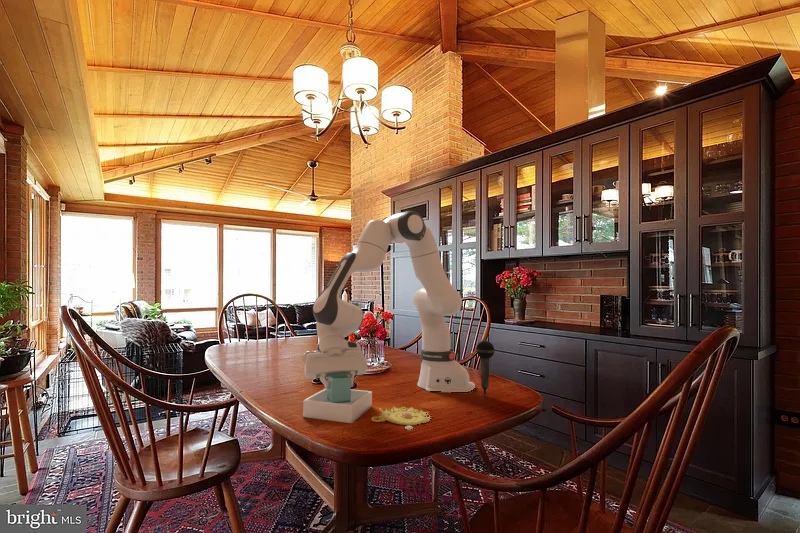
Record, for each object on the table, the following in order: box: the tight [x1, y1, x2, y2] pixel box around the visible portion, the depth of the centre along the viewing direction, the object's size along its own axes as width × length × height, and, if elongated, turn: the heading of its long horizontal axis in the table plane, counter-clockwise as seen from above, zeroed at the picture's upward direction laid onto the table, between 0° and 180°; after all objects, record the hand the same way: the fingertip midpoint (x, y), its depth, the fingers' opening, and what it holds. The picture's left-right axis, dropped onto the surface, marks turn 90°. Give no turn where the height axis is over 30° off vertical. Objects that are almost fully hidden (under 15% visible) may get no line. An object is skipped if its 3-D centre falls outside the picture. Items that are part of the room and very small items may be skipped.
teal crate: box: [327, 374, 352, 403], centre depth 127 cm, size 6×6×8 cm
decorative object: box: [371, 406, 432, 431], centre depth 123 cm, size 21×2×20 cm
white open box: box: [302, 388, 373, 424], centre depth 127 cm, size 16×16×5 cm
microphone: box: [475, 340, 496, 395], centre depth 146 cm, size 7×7×20 cm
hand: (339, 386), depth 127 cm, fingers closed on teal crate, 6 cm apart
